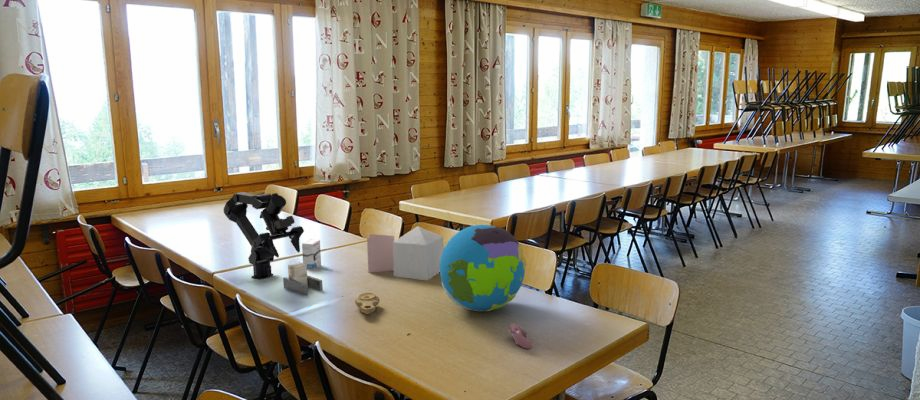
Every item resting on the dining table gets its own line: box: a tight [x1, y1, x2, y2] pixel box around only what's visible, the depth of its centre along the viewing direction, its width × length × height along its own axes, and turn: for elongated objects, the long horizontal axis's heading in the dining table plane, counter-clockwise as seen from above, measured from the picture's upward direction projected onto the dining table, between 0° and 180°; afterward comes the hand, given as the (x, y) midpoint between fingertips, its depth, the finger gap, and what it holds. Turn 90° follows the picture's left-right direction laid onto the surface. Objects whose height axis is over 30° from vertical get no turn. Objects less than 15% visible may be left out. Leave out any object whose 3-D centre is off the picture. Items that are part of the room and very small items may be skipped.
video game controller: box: [508, 323, 533, 350], centre depth 186 cm, size 10×5×7 cm, turn 5°
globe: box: [439, 224, 527, 312], centre depth 212 cm, size 30×30×30 cm
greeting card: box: [366, 233, 395, 273], centre depth 260 cm, size 11×7×15 cm, turn 71°
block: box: [287, 261, 309, 288], centre depth 236 cm, size 5×5×9 cm
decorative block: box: [393, 226, 444, 281], centre depth 256 cm, size 16×16×20 cm
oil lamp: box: [354, 292, 381, 315], centre depth 214 cm, size 11×14×5 cm
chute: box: [282, 274, 323, 296], centre depth 235 cm, size 14×8×5 cm, turn 49°
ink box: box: [301, 238, 322, 269], centre depth 265 cm, size 8×5×12 cm, turn 168°
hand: (288, 254), depth 237 cm, fingers open, 9 cm apart
